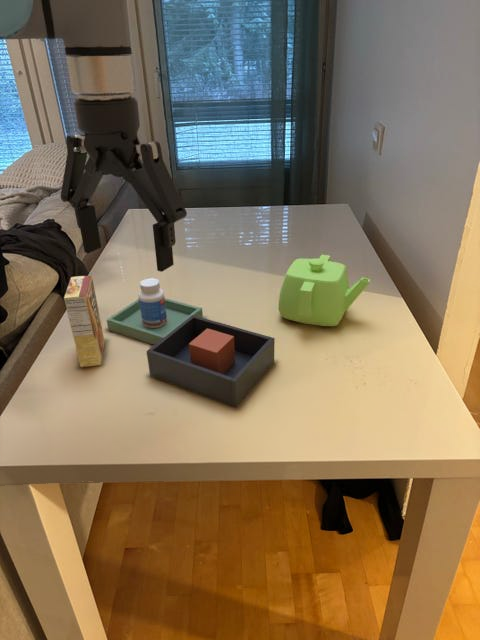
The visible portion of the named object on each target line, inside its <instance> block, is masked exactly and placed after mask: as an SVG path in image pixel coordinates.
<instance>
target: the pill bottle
mask: <svg viewBox="0 0 480 640" xmlns="http://www.w3.org/2000/svg"><path fill="white" fill-rule="evenodd" d="M139 286H140V291H139V293H138V295H137V296H138V297H137V298H138V299H139V303H140V310H141V317H142V323H143V325H144V326H146V327H148V328H158V327H161V326H163V325H164V324H165V323H166V322H167V314H166V306H165V298H166V297H165V291H163V289H162V288H161V284H160V280H159V279H157V278H151V277H149V278H145V279H143V280H141V281H140V282H139Z"/></svg>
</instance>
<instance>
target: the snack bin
mask: <svg viewBox="0 0 480 640" xmlns="http://www.w3.org/2000/svg"><path fill="white" fill-rule="evenodd" d="M207 328H208V329H211V330H215V331H218V332H221V333H225V334H228V335H231V336H234V348H235V363H234V364H233V365H232V366H231V367H230V368H229V369H228V370H227V371H226V372H225V373H224V374H220V373H218V372H215V371H212V370H209V369H206V368H203V367H200V366H197V365H194V364H191V360H190V350H189V343H190V342H192V341H193V340H194V339H195V338H196V337H198V336H199V335H200V334H201V333H202V332H203V331H205V330H206V329H207ZM275 340H276V339H275V337H272V336H269V335H265V334H262V333H257V332H254V331H251V330H247V329H244V328H241V327H236V326H233V325H230V324H226V323H223V322H220V321H215V320H213V319H208V318H205V317H203V318H202V317H198V316H194V315H192V316H191V317H189V318H188V319H187V320H185V321H184V322H183V323H182V324H180V325H179V326H178V327H177V328H175V329H174V330H173V331H172V332H170V333H169V334H168V335H167V336H165V337H164V338H163V339H161V340H160V341H159V342H158V343H156V344H155V345H152V346H151V347H149V349H148V350H146V357H147V364H148V370H149V376H150V377H152V378H155V379H157V380H161V381H163V382H165V383H169V384H171V385H174V386H176V387H179V388H182V389H185V390H187V391H190V392H193V393H196V394H198V395H201V396H203V397H205V398H209V399H211V400H214V401H216V402H219V403H222V404H225V405H228V406H231V407H233V408H237V407H238V406H239V405H240V404H241V403H242V402H243V400H244V399H246V397H247V395H249V393H250V392H251V391H252V390H253V389H254V387H255V386H256V385H257V384H258V383H259V381H260V380H261V379H262V378H263V376H264V375H265V374H266V373H267V371H269V369H270V368H271V367H272V366H273V365H274V364H275V343H276V342H275Z"/></svg>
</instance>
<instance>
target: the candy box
mask: <svg viewBox="0 0 480 640" xmlns="http://www.w3.org/2000/svg"><path fill="white" fill-rule="evenodd" d="M68 282H69V283H68V285H67V288H66V291H65V293H64V296H63V301H64V304H65V309H66V312H67V316H68V320H69V325H70V328H71V333H72V337H73V341H74V346H75V350H76V354H77V358H78V362H79V366H80V368H87V367H96V366H101V365H102V359H103V354H104V348H105V341H106V340H105V336H104V331H103V327H102V320H101V315H100V311H99V306H98V300H97V295H96V289H95V286H94V285H95V284H94V280H93V276H92V275H78V276H71V277H70V280H69V281H68Z"/></svg>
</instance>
